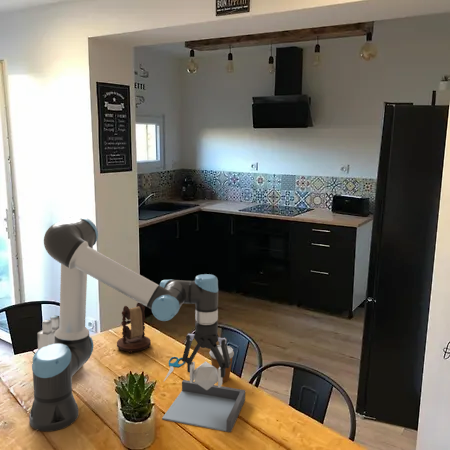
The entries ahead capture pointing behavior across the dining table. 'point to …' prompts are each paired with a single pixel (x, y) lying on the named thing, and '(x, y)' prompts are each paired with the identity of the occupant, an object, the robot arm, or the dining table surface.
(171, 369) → the scissors
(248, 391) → the dining table surface
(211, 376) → the die
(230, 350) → the disposable coffee cup
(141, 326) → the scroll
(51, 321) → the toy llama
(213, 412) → the tray
